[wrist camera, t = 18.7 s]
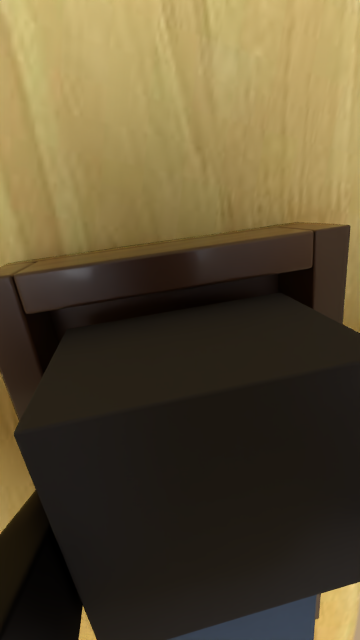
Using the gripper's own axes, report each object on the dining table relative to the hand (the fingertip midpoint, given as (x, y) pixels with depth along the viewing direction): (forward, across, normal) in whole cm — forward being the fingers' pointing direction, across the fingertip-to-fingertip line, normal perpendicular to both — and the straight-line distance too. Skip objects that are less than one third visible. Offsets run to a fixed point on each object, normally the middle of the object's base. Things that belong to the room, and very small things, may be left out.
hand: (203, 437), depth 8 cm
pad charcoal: (+2, 0, 0) cm, 2 cm away
